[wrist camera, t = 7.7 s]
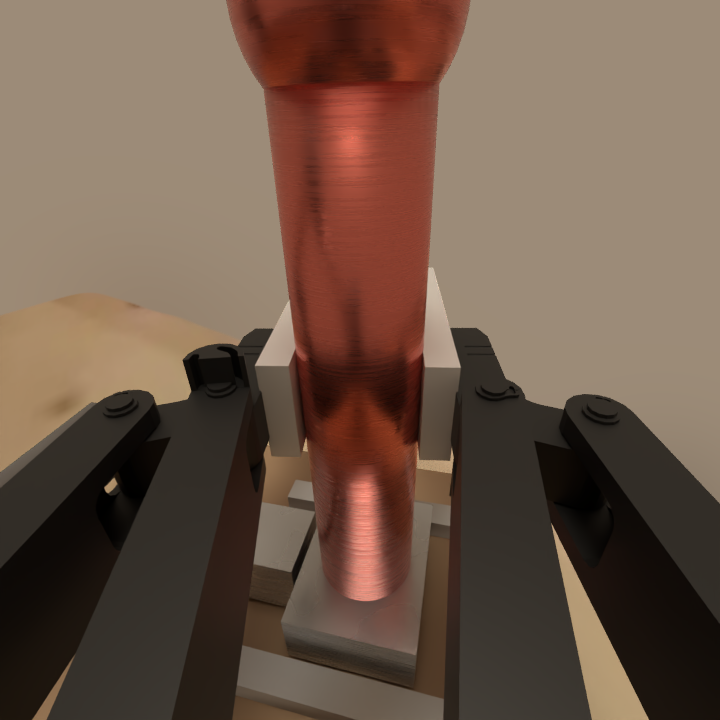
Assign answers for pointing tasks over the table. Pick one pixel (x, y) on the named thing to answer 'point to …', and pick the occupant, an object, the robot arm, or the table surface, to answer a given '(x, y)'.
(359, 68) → the press lever
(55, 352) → the table surface
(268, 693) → the press bed
